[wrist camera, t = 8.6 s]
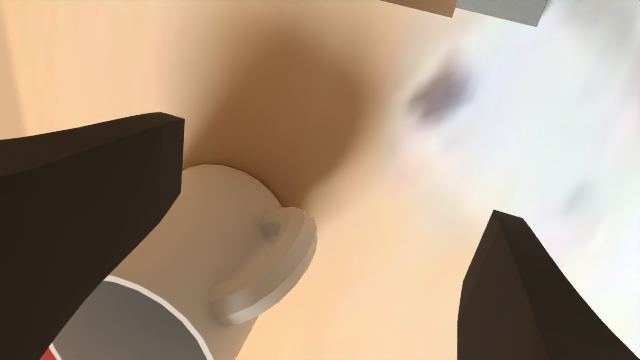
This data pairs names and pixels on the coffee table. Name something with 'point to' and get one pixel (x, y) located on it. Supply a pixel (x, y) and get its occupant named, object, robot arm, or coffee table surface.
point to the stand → (507, 9)
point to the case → (429, 5)
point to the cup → (196, 275)
